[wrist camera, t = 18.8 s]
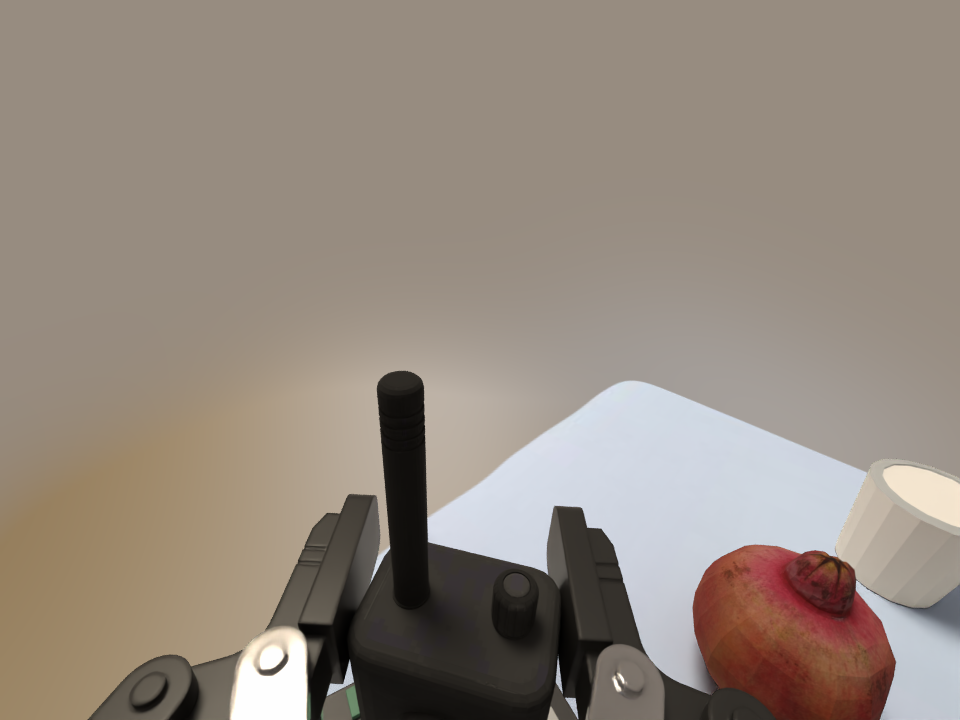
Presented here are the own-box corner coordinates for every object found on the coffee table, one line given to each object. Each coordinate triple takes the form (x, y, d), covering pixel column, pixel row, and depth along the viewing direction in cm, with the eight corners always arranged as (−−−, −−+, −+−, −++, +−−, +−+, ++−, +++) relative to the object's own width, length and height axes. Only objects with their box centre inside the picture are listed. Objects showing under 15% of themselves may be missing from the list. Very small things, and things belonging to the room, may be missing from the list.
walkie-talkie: (531, 743, 15) (606, 366, 8) (514, 889, 12) (609, 497, 5) (401, 702, 16) (368, 332, 9) (357, 828, 13) (257, 426, 6)
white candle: (807, 554, 31) (852, 481, 27) (846, 514, 34) (891, 444, 31) (933, 640, 26) (1007, 563, 23) (964, 583, 29) (1032, 509, 26)
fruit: (723, 584, 29) (781, 469, 24) (870, 709, 23) (987, 589, 18) (642, 653, 25) (691, 532, 20) (794, 826, 19) (917, 712, 14)
